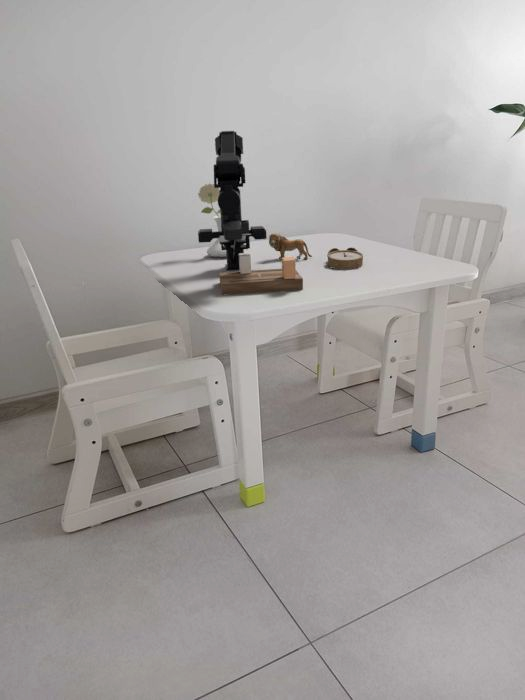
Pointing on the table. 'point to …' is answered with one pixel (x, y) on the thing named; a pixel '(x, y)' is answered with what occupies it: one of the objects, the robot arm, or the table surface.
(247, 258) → the block
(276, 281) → the board
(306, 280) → the table surface
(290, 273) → the terracotta fader
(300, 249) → the lion figurine
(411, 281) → the table surface
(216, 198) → the flower in vase
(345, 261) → the alarm clock
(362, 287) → the table surface
